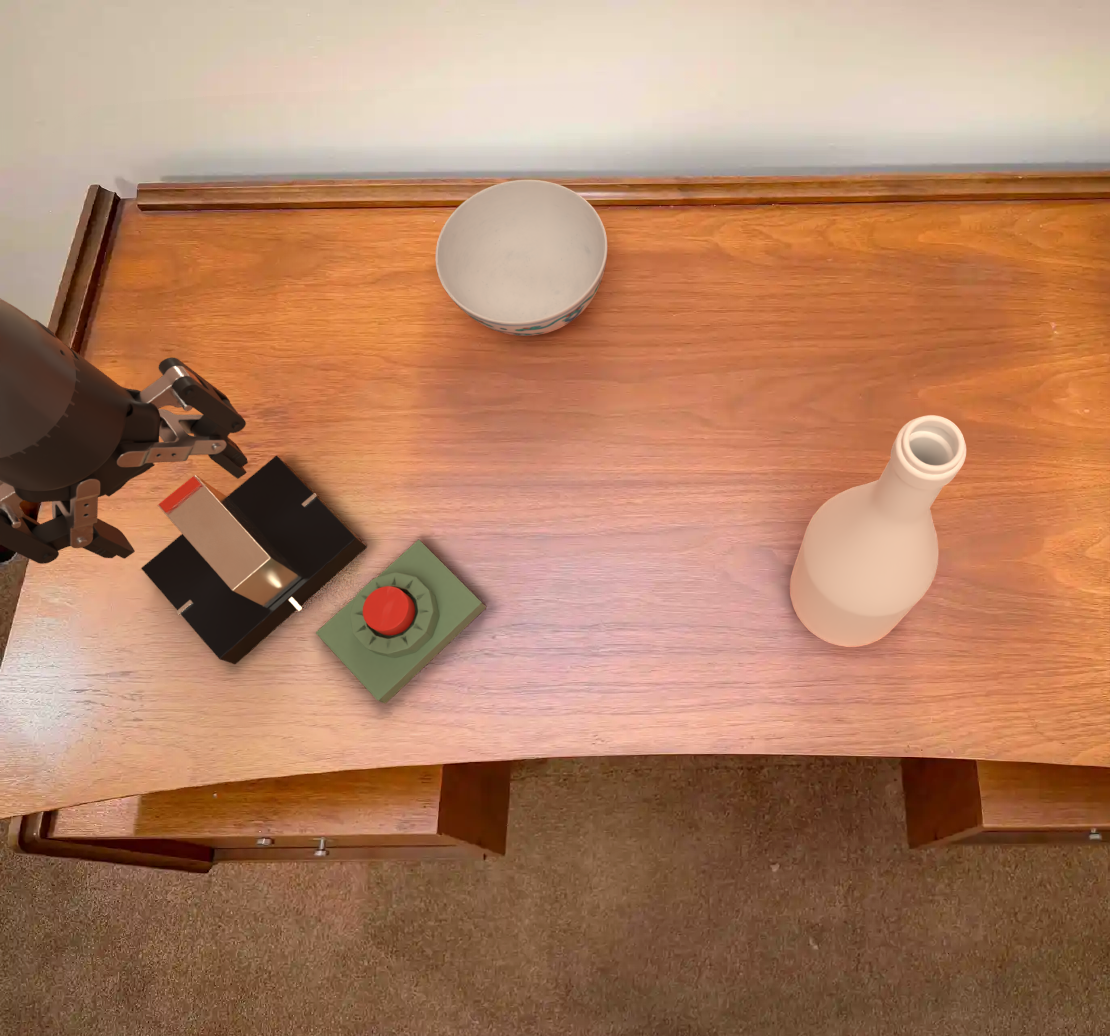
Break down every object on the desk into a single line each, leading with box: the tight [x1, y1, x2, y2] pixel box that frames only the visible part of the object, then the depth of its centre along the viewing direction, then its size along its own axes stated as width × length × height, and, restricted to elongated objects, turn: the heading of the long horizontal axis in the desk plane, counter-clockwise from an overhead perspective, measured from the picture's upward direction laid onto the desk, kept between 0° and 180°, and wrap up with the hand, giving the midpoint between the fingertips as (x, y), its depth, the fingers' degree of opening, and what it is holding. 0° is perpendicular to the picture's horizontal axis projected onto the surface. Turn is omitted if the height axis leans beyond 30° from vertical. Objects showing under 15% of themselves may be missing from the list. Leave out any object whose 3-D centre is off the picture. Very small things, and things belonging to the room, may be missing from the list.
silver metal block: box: [157, 474, 302, 608], centre depth 69 cm, size 10×4×6 cm, turn 46°
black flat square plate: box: [140, 455, 368, 665], centre depth 73 cm, size 14×14×3 cm
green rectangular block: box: [315, 539, 487, 705], centre depth 71 cm, size 11×8×4 cm
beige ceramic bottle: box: [789, 414, 967, 648], centre depth 58 cm, size 10×10×30 cm
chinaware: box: [435, 179, 608, 337], centre depth 79 cm, size 15×15×8 cm
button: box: [363, 586, 415, 635], centre depth 69 cm, size 4×4×2 cm
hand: (181, 505), depth 58 cm, fingers open, 8 cm apart
